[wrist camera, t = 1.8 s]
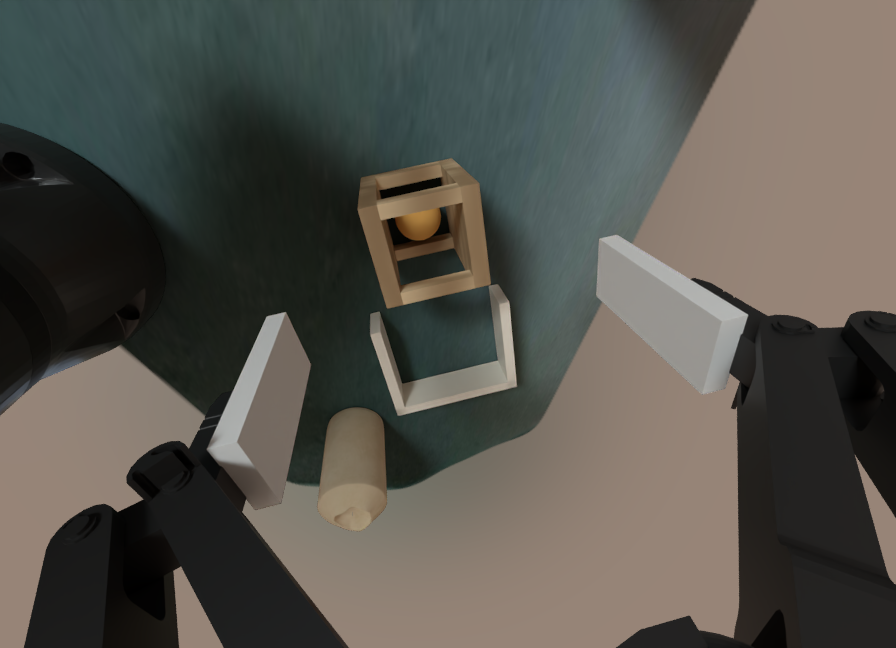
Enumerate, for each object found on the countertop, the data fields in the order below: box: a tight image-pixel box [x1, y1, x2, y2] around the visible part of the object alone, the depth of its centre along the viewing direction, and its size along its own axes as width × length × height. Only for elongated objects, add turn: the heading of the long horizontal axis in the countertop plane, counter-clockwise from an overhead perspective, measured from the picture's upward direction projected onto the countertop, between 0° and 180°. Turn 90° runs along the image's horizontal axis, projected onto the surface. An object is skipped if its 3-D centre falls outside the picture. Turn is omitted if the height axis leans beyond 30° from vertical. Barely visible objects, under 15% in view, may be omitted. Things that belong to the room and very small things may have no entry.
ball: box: [395, 208, 441, 240], centre depth 27 cm, size 3×3×3 cm
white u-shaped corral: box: [370, 284, 517, 416], centre depth 33 cm, size 11×9×3 cm
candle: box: [317, 407, 387, 531], centre depth 34 cm, size 6×6×10 cm
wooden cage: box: [357, 158, 491, 309], centre depth 25 cm, size 6×6×8 cm
